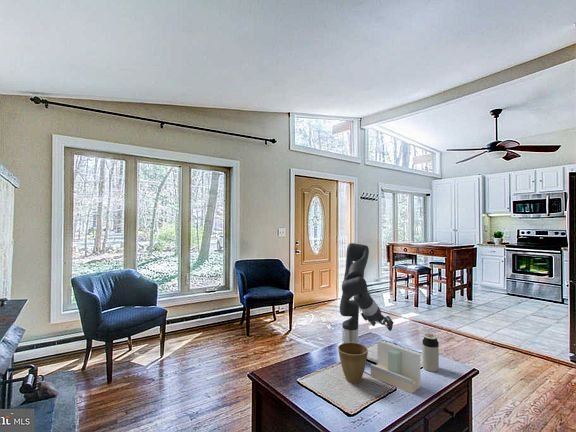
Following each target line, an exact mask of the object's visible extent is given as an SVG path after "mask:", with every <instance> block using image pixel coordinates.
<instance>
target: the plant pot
mask: <svg viewBox="0 0 576 432" xmlns="http://www.w3.org/2000/svg"><path fill="white" fill-rule="evenodd" d="M337 351H338V358H339V361H340V366H341V368H342V372H343V374H344V377H345V380H346V381H347V382H349V383H351V384H358V383H360V382H361V381H362V378H363V375H364V372H365V369H366V364H367V360H368V359H367V358H368V352H369V348H368V347H367V346H366V345H365V344H361V343H359V342H358V343H343V344H342V343H341V344H339V345H338V348H337Z"/></svg>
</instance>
